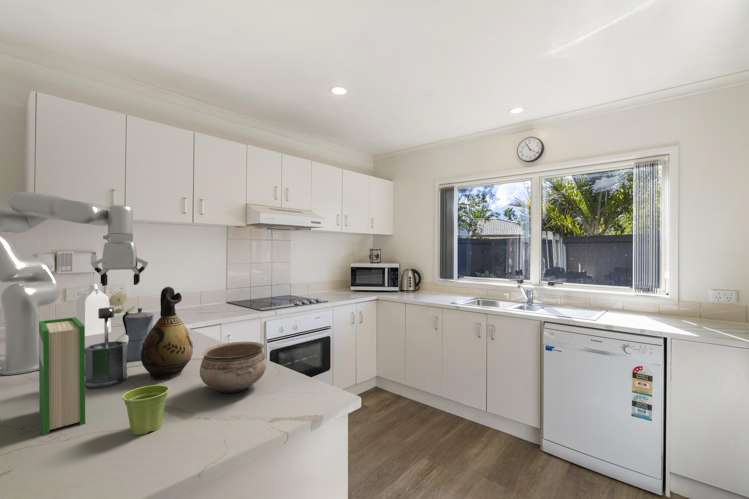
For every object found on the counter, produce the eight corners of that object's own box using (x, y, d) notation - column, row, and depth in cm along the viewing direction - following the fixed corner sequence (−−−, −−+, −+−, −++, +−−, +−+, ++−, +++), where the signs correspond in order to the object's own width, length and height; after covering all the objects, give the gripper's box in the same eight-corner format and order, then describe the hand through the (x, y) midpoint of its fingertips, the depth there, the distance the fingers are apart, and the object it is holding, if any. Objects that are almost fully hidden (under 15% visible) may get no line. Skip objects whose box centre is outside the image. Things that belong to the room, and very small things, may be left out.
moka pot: (143, 363, 133) (143, 310, 133) (110, 360, 136) (109, 309, 137) (163, 355, 143) (163, 306, 143) (131, 353, 146) (131, 305, 146)
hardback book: (85, 423, 86) (84, 326, 86) (43, 435, 81) (43, 331, 81) (75, 402, 98) (75, 317, 98) (39, 411, 93) (38, 321, 93)
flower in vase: (141, 340, 168) (140, 288, 168) (146, 344, 160) (146, 290, 160) (107, 345, 159) (106, 290, 159) (111, 350, 151) (111, 292, 151)
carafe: (68, 392, 106) (67, 352, 106) (83, 379, 116) (83, 343, 116) (121, 385, 110) (121, 347, 110) (131, 374, 121) (131, 339, 121)
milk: (111, 331, 188) (110, 283, 188) (84, 336, 178) (84, 285, 178) (101, 329, 194) (101, 282, 194) (75, 333, 185) (75, 284, 185)
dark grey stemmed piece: (88, 357, 109) (88, 310, 109) (97, 351, 116) (97, 307, 116) (116, 354, 112) (115, 309, 112) (123, 348, 118) (122, 306, 118)
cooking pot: (281, 393, 103) (280, 351, 103) (213, 412, 91) (212, 365, 91) (250, 371, 122) (249, 336, 122) (190, 385, 110) (190, 346, 110)
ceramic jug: (200, 374, 120) (199, 287, 121) (148, 387, 109) (147, 291, 109) (182, 363, 132) (182, 284, 132) (134, 374, 121) (133, 287, 121)
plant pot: (137, 420, 87) (137, 385, 88) (176, 418, 88) (176, 383, 88) (112, 440, 78) (112, 401, 78) (156, 437, 79) (156, 399, 79)
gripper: (87, 238, 123) (87, 287, 123) (145, 238, 129) (145, 285, 129) (95, 239, 130) (95, 285, 130) (150, 239, 136) (150, 283, 136)
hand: (120, 285), depth 130 cm, fingers open, 9 cm apart
